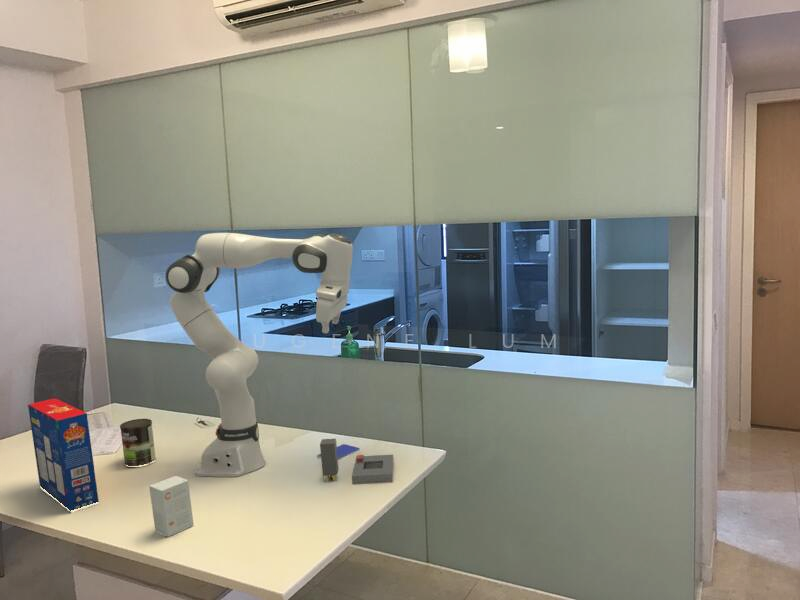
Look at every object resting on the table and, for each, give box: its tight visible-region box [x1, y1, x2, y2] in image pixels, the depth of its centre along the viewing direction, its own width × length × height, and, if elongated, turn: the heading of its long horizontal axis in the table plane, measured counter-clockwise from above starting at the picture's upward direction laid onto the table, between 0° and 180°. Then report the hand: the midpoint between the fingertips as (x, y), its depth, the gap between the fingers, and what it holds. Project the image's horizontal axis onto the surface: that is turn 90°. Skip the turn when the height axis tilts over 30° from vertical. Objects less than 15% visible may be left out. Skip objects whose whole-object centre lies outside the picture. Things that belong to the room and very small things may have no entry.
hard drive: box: [316, 443, 361, 461], centre depth 230 cm, size 2×8×12 cm
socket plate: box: [351, 454, 395, 485], centre depth 211 cm, size 12×16×3 cm
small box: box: [149, 475, 194, 538], centre depth 181 cm, size 8×6×13 cm
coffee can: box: [119, 418, 157, 466], centre depth 234 cm, size 10×10×14 cm
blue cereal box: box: [27, 398, 100, 511], centre depth 207 cm, size 28×8×28 cm, turn 44°
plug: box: [319, 438, 339, 482], centre depth 208 cm, size 4×4×12 cm
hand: (330, 327), depth 215 cm, fingers open, 8 cm apart
